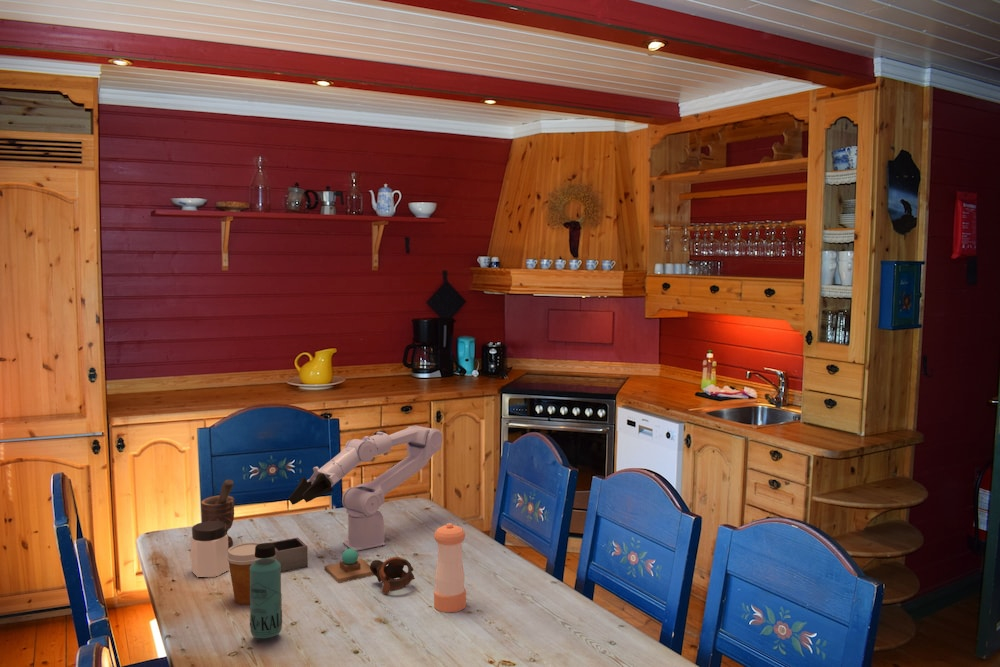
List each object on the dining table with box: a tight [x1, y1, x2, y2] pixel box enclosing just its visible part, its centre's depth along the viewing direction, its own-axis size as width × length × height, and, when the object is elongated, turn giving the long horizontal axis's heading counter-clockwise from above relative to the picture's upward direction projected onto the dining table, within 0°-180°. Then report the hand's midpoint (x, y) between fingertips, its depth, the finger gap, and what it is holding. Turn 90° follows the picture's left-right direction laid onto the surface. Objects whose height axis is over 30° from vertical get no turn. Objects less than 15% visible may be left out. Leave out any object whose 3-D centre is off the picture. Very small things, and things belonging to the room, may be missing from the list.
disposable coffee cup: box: [226, 542, 263, 606], centre depth 182 cm, size 10×10×12 cm
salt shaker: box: [433, 522, 467, 613], centre depth 178 cm, size 7×7×19 cm
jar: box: [190, 521, 230, 578], centre depth 199 cm, size 9×8×12 cm
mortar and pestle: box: [200, 479, 235, 549], centre depth 216 cm, size 12×9×20 cm
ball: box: [341, 548, 359, 565], centre depth 199 cm, size 4×4×4 cm
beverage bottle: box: [248, 542, 283, 639], centre depth 162 cm, size 6×7×20 cm
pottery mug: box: [369, 556, 416, 595], centre depth 189 cm, size 12×10×8 cm
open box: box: [269, 536, 309, 574], centre depth 203 cm, size 8×8×6 cm
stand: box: [323, 558, 375, 584], centre depth 199 cm, size 10×10×2 cm
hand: (297, 500), depth 201 cm, fingers open, 7 cm apart
